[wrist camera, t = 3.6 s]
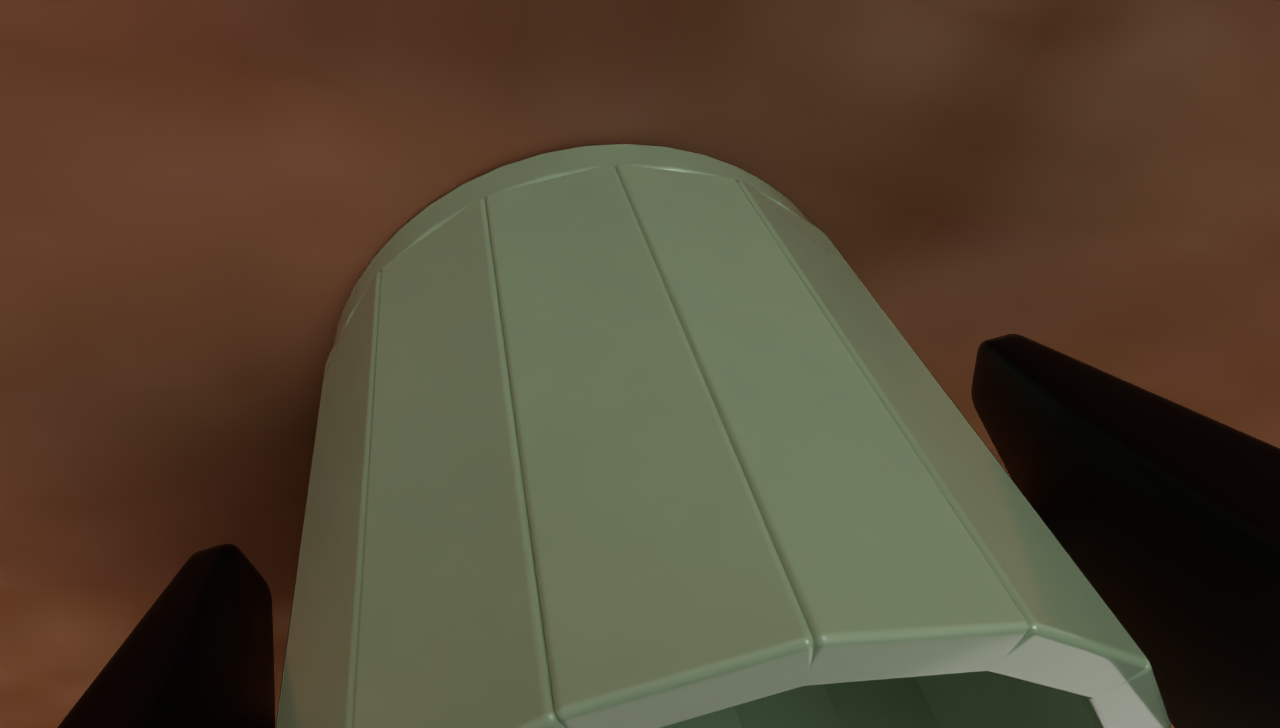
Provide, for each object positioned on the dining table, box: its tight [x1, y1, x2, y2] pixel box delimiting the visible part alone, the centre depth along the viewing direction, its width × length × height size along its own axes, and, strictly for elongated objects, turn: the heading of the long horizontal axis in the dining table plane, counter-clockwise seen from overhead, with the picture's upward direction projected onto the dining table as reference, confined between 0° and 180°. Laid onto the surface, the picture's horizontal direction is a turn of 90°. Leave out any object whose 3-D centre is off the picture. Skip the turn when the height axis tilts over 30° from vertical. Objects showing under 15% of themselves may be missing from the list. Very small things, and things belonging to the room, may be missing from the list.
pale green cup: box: [275, 144, 1171, 728], centre depth 8 cm, size 7×7×6 cm
